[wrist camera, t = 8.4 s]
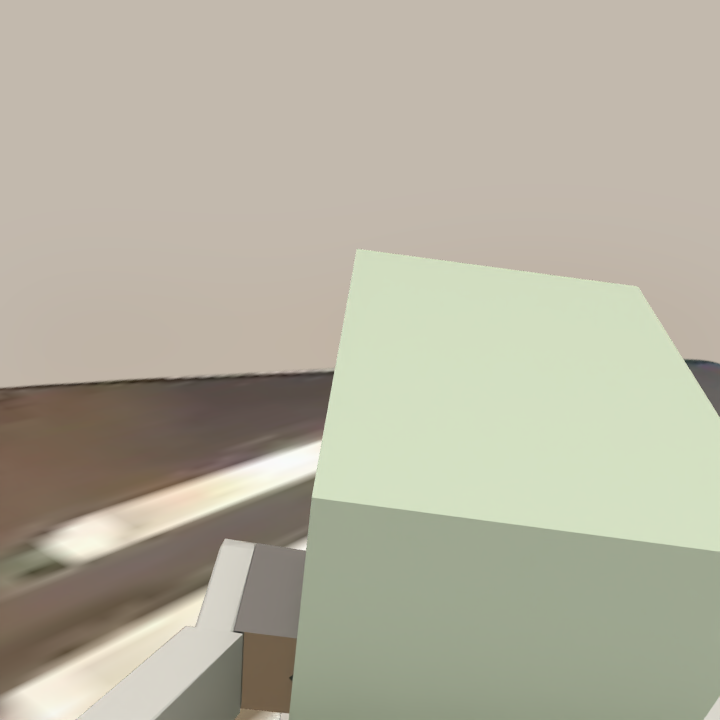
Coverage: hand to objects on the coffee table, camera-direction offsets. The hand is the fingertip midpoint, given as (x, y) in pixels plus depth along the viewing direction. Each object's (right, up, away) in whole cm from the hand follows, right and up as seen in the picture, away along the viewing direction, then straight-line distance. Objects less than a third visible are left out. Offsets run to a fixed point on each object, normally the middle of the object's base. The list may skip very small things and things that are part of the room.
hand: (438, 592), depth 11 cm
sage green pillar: (-1, -6, +3) cm, 7 cm away
